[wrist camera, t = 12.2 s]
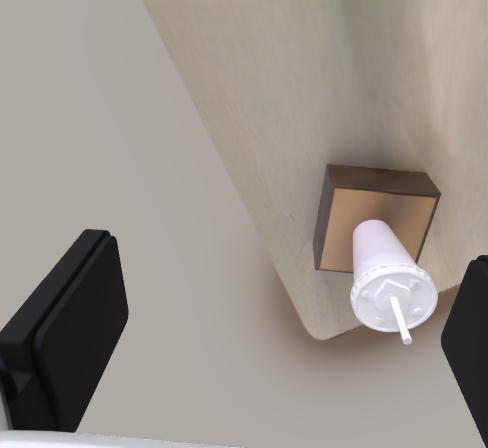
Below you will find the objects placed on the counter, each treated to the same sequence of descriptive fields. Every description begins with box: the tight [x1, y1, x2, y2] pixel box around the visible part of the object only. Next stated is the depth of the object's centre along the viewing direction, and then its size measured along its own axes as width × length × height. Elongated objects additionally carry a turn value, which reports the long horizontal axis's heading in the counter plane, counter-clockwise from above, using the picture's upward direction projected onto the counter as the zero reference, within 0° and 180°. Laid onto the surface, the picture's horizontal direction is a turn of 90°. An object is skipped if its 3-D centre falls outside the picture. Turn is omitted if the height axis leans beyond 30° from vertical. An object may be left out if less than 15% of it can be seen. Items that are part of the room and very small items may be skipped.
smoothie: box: [350, 220, 438, 344], centre depth 33 cm, size 6×6×14 cm
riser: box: [313, 164, 441, 273], centre depth 41 cm, size 10×10×5 cm
